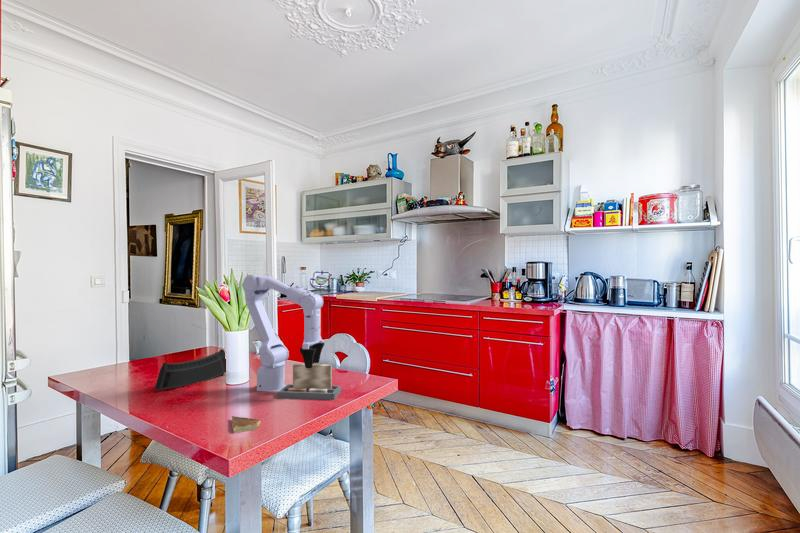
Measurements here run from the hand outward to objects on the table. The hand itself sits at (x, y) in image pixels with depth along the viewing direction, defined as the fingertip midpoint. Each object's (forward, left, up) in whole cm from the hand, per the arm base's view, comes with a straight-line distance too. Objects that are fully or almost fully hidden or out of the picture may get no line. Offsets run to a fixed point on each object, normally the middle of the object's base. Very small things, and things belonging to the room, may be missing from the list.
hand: (312, 365), depth 138 cm
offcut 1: (-4, -4, -10) cm, 11 cm away
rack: (0, -2, -10) cm, 11 cm away
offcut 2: (+4, -4, -10) cm, 11 cm away
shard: (-11, -30, -11) cm, 34 cm away
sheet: (0, 0, -10) cm, 10 cm away
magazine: (-51, +10, -11) cm, 53 cm away
